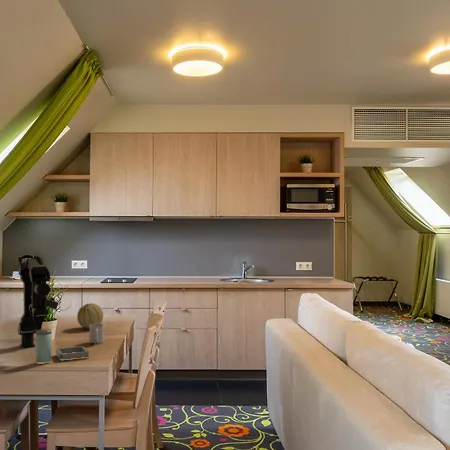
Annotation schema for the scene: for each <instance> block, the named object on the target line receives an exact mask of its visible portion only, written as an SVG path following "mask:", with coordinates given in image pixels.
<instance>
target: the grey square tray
mask: <svg viewBox="0 0 450 450" xmlns="http://www.w3.org/2000/svg"><path fill="white" fill-rule="evenodd" d="M55 351H56V353H55V354H57V355H58V357H59V358H60V359H71V358H81V357H88V358H89V357H90V356H89V350H88V349H86V347H84V345H79V346H69V347H59V348H56V350H55ZM72 352H76V353H72ZM63 353H67V354H63ZM57 355H56V356H57ZM58 357H57V358H58ZM59 358H58V359H59Z"/></svg>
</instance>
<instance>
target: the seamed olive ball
mask: <svg viewBox="0 0 450 450" xmlns="http://www.w3.org/2000/svg"><path fill="white" fill-rule="evenodd" d="M103 318H104V311H103V309H102V307H101V306H100V305H98V304H96V303H92V302H89V303H86V304H84V305H82V306H81V307H80V308H79V309H78V311H77V315H76V319H77V322H78V325H80V326H81V327H82V328H84V329H87V330H90V325H91V324H102V322H103V320H104V319H103Z"/></svg>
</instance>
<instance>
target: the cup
mask: <svg viewBox="0 0 450 450" xmlns="http://www.w3.org/2000/svg"><path fill="white" fill-rule="evenodd" d="M88 336H89V338H88V340H89V344H91V343H101V344H103V343H104V342H105V324H104V323H101V324H91V325H90V329H89V335H88Z"/></svg>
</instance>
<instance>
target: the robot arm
mask: <svg viewBox="0 0 450 450" xmlns="http://www.w3.org/2000/svg"><path fill="white" fill-rule="evenodd" d="M18 276H19V280H20V281H21V282H22V284H23V286H22V287H23V314H22V316H21V317H20V320H19V321H20V322H19V323H18V327H17V334H18V335H19V336H20V337H21V339H20V340H21V341H20V342H21V343H20V344H19V347H20V348H21V347H24V348H32V347H35V348H36V343H35V342H34V341H35V336H34V335H35V334H36V331H37V330H40V329H42V327H43V324H44V323H43V322H44V320H45V318H46V317H48V316H49V309H47V308H50V309H51V308H52V309H53V310H57V309H58V306H59V304H60V303H59V302H58V301H56V299H55V297H51V296H50V297H49V298H47V297H48V295H49V294H50V293H51V286H50V285H49V284H48V283H47V282H50V281H51V274H50V270H49V268H48V267H47V265H44V264H43V265H41V264H40V263H39V262H38V259H37V258H29V257H28V258H26V259H24V261H23V262H22V263H21V264H20V265H19V268H18Z"/></svg>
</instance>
